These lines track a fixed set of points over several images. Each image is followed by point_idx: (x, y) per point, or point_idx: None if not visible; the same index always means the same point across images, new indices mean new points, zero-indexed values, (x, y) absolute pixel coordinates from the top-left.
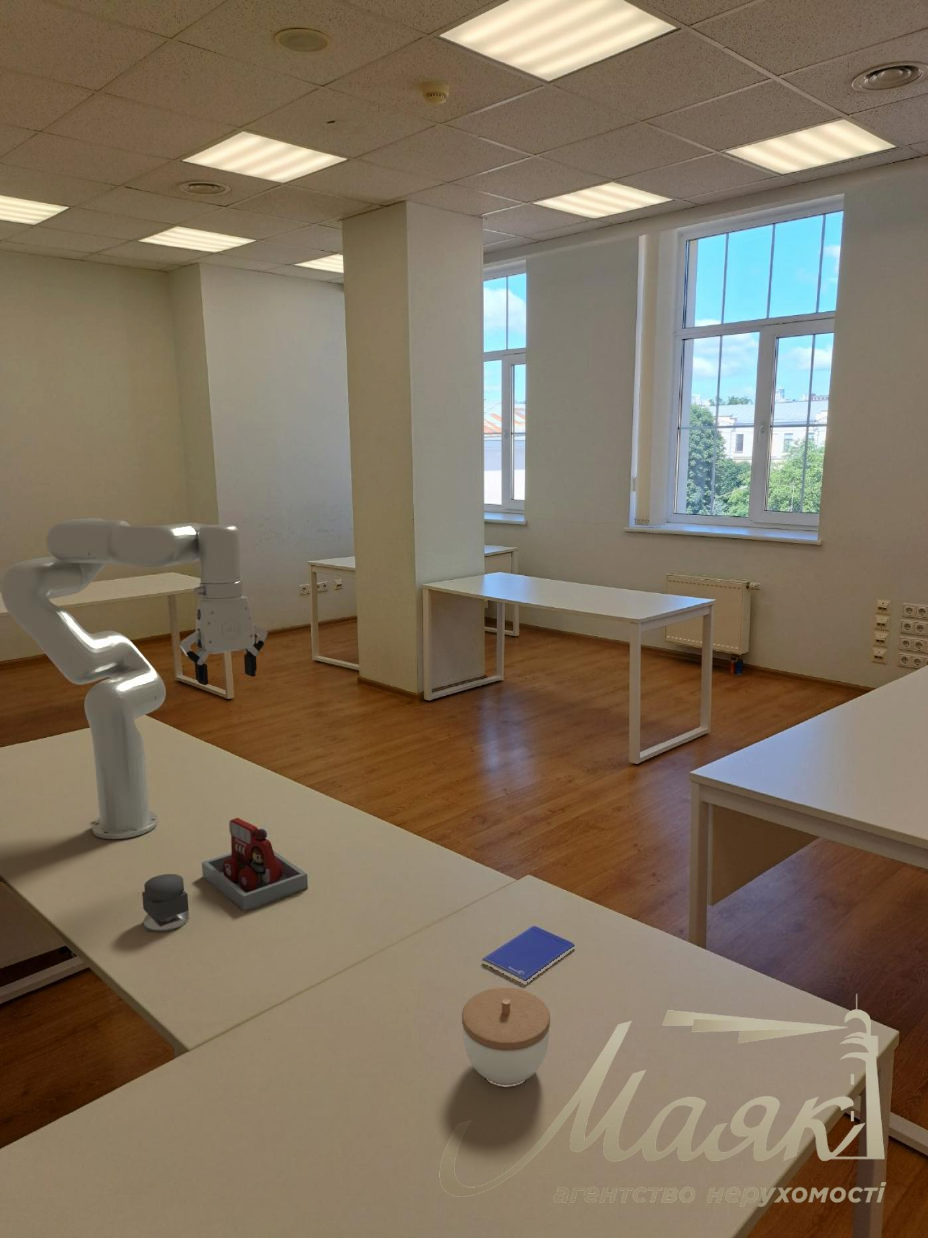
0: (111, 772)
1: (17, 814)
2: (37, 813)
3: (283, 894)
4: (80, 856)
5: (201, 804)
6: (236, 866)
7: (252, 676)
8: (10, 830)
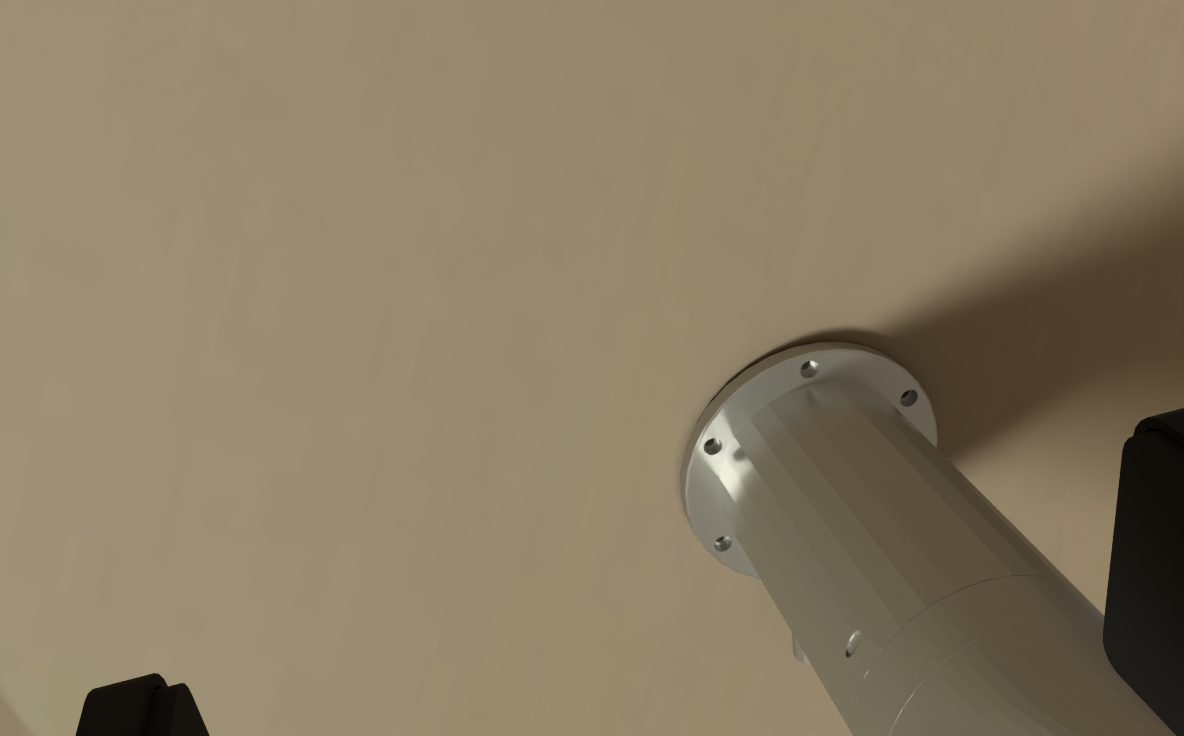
0: (1031, 549)
1: None
2: None
3: None
4: (1027, 259)
5: (460, 567)
6: None
7: (164, 690)
8: None
